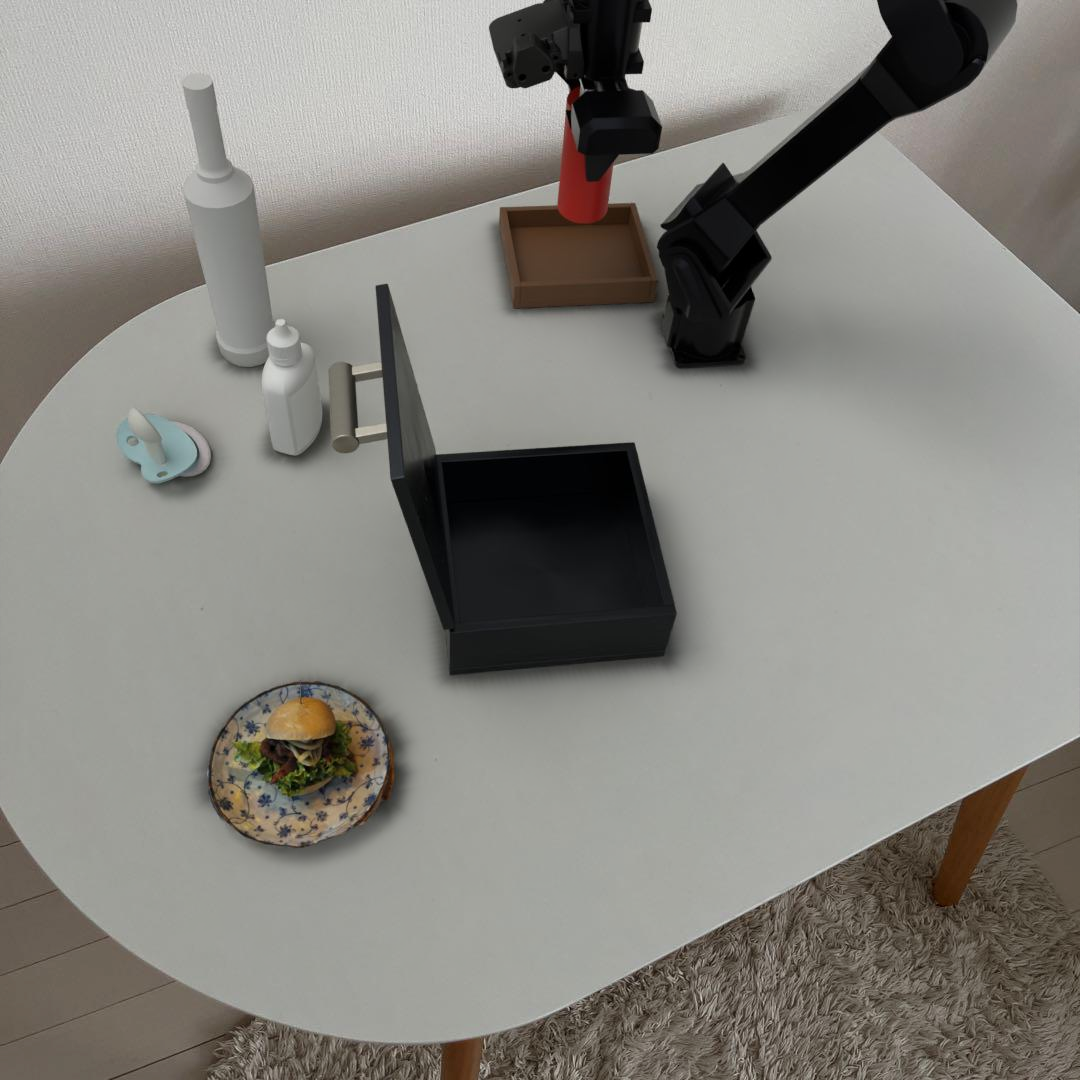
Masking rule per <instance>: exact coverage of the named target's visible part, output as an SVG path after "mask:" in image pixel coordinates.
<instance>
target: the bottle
mask: <svg viewBox="0 0 1080 1080" xmlns="http://www.w3.org/2000/svg"><path fill="white" fill-rule="evenodd" d="M181 85H182V91H183V94H184V99H185V104H186V108H187V110H188V114H189V119H190V124H191V129H192V134H193V139H194V145H195V149H196V153H197V158H198V162H197V163H196V165H195V168H194V169H195V170H194V171H193V172H192V173H190V174H189V175H188V176H187V177H186V178H185V179H184V180H183V184H182V188H181V190H182V194H183V198H184V200H185V206H186V209H187V214H188V218H189V221H190V227H191V229H192V233H193V237H194V241H195V246H196V249H197V253H198V257H199V261H200V265H201V269H202V273H203V277H204V281H205V284H206V285H205V286H206V289H207V293H208V296H209V299H210V300H209V301H210V305H211V309H212V313H213V316H214V320H215V325H216V332H215V338H216V342H217V345H218V348H219V351H220V353H221V355H222V356H223V358H225V360H227V361H228V362H229V363H230V364H232V365H235V366H237V367H241V368H242V367H244V368H252V367H257V366H261V365H263V364H265V363H266V361H267V359H268V357H269V351H268V345H267V340H266V337H267V334H268V332H269V331H270V330H271V329H272V328H274V327H275V325H276V321H274V318H273V312H272V306H271V298H270V291H269V285H268V275H267V269H266V263H265V256H264V249H263V248H264V247H263V241H262V235H261V227H260V221H259V220H260V219H259V214H258V206H257V199H256V191H255V185H254V182H253V179H252V177H251V175H249V174H248V173H247V172H245V170H243V169H241V168H239V167H237V166H234V165H233V163H232V161H230V159H228V158H227V154H226V149H225V144H224V137H223V133H222V127H221V123H220V117H219V111H218V102H217V96H216V91H215V86H214V80H213V77H211V76H210V75H209V74H205V73H204V72H203V73H202V72H193V73H190V74H188V75H185V76H184V77H183V78H182V81H181Z"/></svg>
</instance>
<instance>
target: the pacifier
mask: <svg viewBox="0 0 1080 1080" xmlns="http://www.w3.org/2000/svg"><path fill="white" fill-rule="evenodd" d="M115 438H116V444H117V446H118V448H119V450H120V452H121V453H122V454H123V455H124V457H126V458H127V459H128V460H129V461H131V462H132V463H135V464H137V465H140V466H141V467H140V471H141V475H142V477H143V478H144V480H145V481H146V482H148V483H151V484H161V483H166V482H168V481H171V480H173V479H175V478H177V477H184V478H185V477H187V478H188V477H195V476H198V475H200V474H202V473H204V471H206V470H207V468H208V467H209V465H210V464H211V459H212V453H211V452H212V451H211V447H210V446H209V443H208V441H207V440H206V439H205V437H204V436H203V435H202V434H201V433H200V432H199V431H198V430H196V429H195V428H193V427H192V426H190V425H188V424H186V423H182V422H180V421H173V420H169V419H167V418H165V417H164V416H162V415H157V414H152V413H143V412H142V411H140V410H139V409H138V408H137V407H132V408H131V409H130V411H129V413H128V416H127V417H126V418H125V419H123V420H122V422H121V423H119V425H118V427H117V430H116V435H115ZM130 439H135V440H137V441H138V443H137V444H136V445H132V444H129V443H128V442H129V440H130ZM197 449H198V450H197ZM198 453H199V454H198Z"/></svg>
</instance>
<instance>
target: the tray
mask: <svg viewBox="0 0 1080 1080" xmlns="http://www.w3.org/2000/svg"><path fill="white" fill-rule="evenodd" d="M498 233H499V239H500V244H501V249H502V254H503V259H504V265H505V270H506V277H507V281H508V287H509V294H510V298H511V304H512V308H513V309H525V308H526V309H528V308H547V307H548V308H549V307H551V308H552V307H571V306H593V305H614V304H636V303H637V304H638V303H654V302H655V300H656V294H657V289H658V285H659V278H658V275H657V271H656V268H655V265H654V262H653V261H654V260H653V258H652V255H651V250H650V248H649V244H648V241H647V238H646V234H645V231H644V228H643V224H642V221H641V218H640V214H639V210H638V207H637V204H636V202H623V203H621V202H619V203H608V209H607V213H606V215H605V216H604V217H603V218H602V219H600V220H599V221H596V222H593V223H576V222H573V221H570V220H568V219H566V218H565V217H563V216H562V215H561V213H560V212H559V210H558V207H557V205H529V206H526V205H525V206H500V207H499V217H498Z"/></svg>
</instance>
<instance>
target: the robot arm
mask: <svg viewBox="0 0 1080 1080" xmlns="http://www.w3.org/2000/svg"><path fill="white" fill-rule="evenodd" d="M876 3H877V7H878V10H879V14H880V17H881V19H882V21H883V23H884V25H885V27H886V28H887V30H888V32H889V34H890V38H889V39H888V41H887V42H886V43H885V44H884V45H883V47H882V48H881V50H880V51H879V52H878V53H877V55H876V56H875V57H874V59H873V60H871V62H870V63H869V64H868V65H867V66H866V67H865V68H864V69H863V70H861V72H859V73H858V74H857V75H856V76H855V77H853V78H852V79H851V80H850V81H849V82H847V84H845V85H844V86H843V87H842V88H841V89H840V90H838V92H836V93H835V94H834V95H833V96H831V98H830V99H828V100H827V101H826V102H825V103H824V104H822V105H821V106H820V107H819V108H818V109H817V110H816V111H814V113H812V114H811V115H810V116H809V117H808V118H806V119H805V120H804V121H803V122H802V123H801V124H800V125H798V126H797V127H796V128H795V129H794V130H793V131H792V132H790V133H789V134H788V135H787V136H785V138H783V140H781V141H780V142H778V143H777V145H776V146H775V147H773V148H772V149H771V150H770V151H769V152H767V153H766V154H765V155H764V156H763V157H762V158H761V159H760V160H758V161H757V162H755V164H754V165H753V166H751V167H750V168H749V169H748V170H746V171H744V172H741V173H737V174H732V172H731V171H730V169H729V168H728V166H727V165H726V163H725V162H722V163H721V164H720V165H719V166H718V167H717V168H716V169H715V170H714V172H713V173H712V174H710V176H709V177H708V178H707V179H706V181H705V182H703V183H698V184H696V185H695V186H694V187H693V189H692V190H691V191H690V192H689V193H687V195H686V196H685V197H684V198H683V200H681V202H680V203H679V204H678V205H677V206H676V207H675V208H674V209H673V210H672V211H671V213H670V214H668V216H667V217H666V218H665V219H664V221H662V222H661V224H659V225H660V228H661V229H662V230H665V231H664V232H663V233H662V235H661V236H660V237H659V239H658V240H657V244H656V249H657V252H658V258H659V260H660V263H661V265H662V267H663V269H664V275H665V281H666V285H667V292H668V295H667V297H666V298H667V299H666V303H665V307H664V312H663V314H662V317H661V322H662V323H661V331H662V335H663V338H664V342H665V345H666V348H668V349H669V350H670V353H671V356H672V360H673V363H674V365H675V366H676V367H678V368H695V367H709V366H710V367H712V366H714V367H715V366H729V365H730V366H731V365H732V366H733V365H743V364H745V363H746V361H747V355H746V352H745V349H744V345H743V343H744V340H745V337H746V336H745V335H746V332H747V329H748V325H749V322H750V319H751V315H752V312H753V309H754V305H755V302H756V295H755V294H754V291H753V287H752V286H753V285H754V283H755V282H756V281H757V279H758V278H759V277H760V276H761V275H762V273H763V272H764V270H765V269H766V268H767V267H768V265H769V264H770V263H771V261H772V259H773V257H772V254H771V253H770V251H769V249H768V248H767V247H766V244H765V243H764V240H763V239H762V237H761V236H760V234H759V232H758V229H759V228H760V226H762V225H763V224H764V223H765V222H767V221H768V220H769V219H770V218H771V217H773V216H774V215H775V214H776V213H778V212H779V211H780V210H782V209H783V208H784V207H785V206H786V205H788V204H789V203H790V202H791V201H793V200H794V199H795V198H796V197H798V196H799V195H801V193H803V192H804V191H805V190H806V189H808V188H809V187H810V186H812V185H813V184H814V183H815V182H817V181H819V179H820V178H822V177H823V176H824V175H826V173H827V172H829V171H830V170H832V169H833V168H834V167H835V166H837V165H838V164H839V163H840V162H842V161H843V160H844V159H845V158H847V157H848V156H849V155H850V154H852V153H853V152H855V150H857V149H859V147H860V146H862V145H863V144H864V143H866V142H867V141H868V140H870V139H871V138H872V137H873V136H874V135H876V134H877V133H878V132H880V130H882V129H883V128H884V127H886V126H888V124H890V123H891V122H894V121H895V120H897V119H900V118H903V117H907V116H911V115H913V114H917V113H921V112H924V111H925V110H927V109H929V108H932V107H933V106H935V105H937V104H939V103H940V102H943V101H944V100H947V99H949V98H950V97H952V96H954V95H956V94H958V93H960V92H961V91H963V90H964V89H966V88H968V87H969V86H971V85H972V83H973V82H974V81H975V80H976V79H977V78H978V77H979V75H980V74H981V73H982V71H984V69H985V67H987V65H988V63H989V62H990V61H991V59H992V58H993V56H994V55H995V53H996V52H997V51H998V49H999V48H1000V46H1001V45H1002V44H1003V42H1004V40H1005V39H1007V37H1008V35H1009V34H1010V32H1011V31H1012V29H1013V27H1014V25H1015V23H1016V20H1017V11H1018V0H876ZM652 12H653V8H652V5H651V3H650V0H543V1H542V2H538V3H534V4H531V5H529V6H526V7H524V8H521V9H518V10H515V11H513V12H509V13H507V14H504V15H502V16H499V17H497V18H495V19H493V20H492V21H491V22H490V23H489V25H488V32H489V35H490V40H491V45H492V48H493V52H494V54H495V58H496V60H497V63H498V66H499V69H500V72H501V75H502V78H503V80H504V83H505V86H506V87H507V88H509V89H519V88H522V89H528V88H531V87H534V86H537V85H540V84H542V83H546V82H548V81H550V80H551V79H552V78H553V77H554V75H555V74H557V75H558V77H560V78H561V79H562V80H563V82H564V83H566V85H567V88H568V94H569V93H570V92H571V91H572V90H573V89H575V88H577V87H580V86H582V90H583V92H584V93H583V94H582V95H581V96H580V97H579V98H578V99H576V100H575V101H574V102H573V103H572V110H566V109H565V110H564V113H566V115H567V119H568V122H569V126H570V129H571V131H572V133H573V137H574V140H575V144H576V148H577V151H578V152H580V153H582V154H584V166H585V176H586V180H587V181H588V182H597V181H599V180H600V179H601V178H602V176H603V175H604V174H605V173H606V171H607V170H608V169H609V167H610V166H611V165H612V163H613V162H614V163H615V161H616V160H617V158H619V156H621V155H622V156H623V155H624V156H625V155H649V154H650V155H651V154H654V153H655V152H657V151H658V150H659V149H660V143H661V137H662V132H663V125H662V122H661V120H660V116H659V113H658V111H657V108H656V106H655V103H654V101H653V100H652V98H651V97H650V96H649V95H648V94H647V93H646V92H645V91H644V89H643V90H642V89H638V90H637V89H635V88H630V87H629V85H628V82H627V79H626V75H643V70H644V64H645V60H644V58H643V55H642V53H641V52H642V51H641V50H640V40H641V34H642V27H643V23H651V20H652V19H651V18H652Z"/></svg>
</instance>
